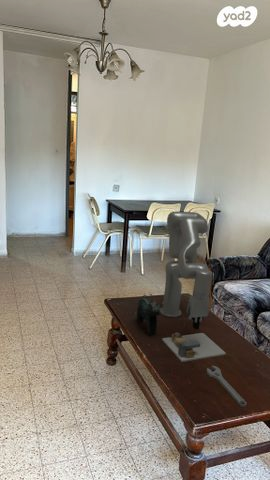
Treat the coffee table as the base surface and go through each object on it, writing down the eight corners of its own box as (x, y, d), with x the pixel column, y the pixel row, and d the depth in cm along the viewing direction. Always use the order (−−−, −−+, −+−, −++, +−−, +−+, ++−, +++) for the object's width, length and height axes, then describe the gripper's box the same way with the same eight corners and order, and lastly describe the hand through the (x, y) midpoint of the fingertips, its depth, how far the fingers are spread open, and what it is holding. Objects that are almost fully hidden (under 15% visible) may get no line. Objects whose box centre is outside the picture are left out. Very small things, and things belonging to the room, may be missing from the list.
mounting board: (162, 339, 181) (163, 328, 179) (202, 334, 190) (204, 323, 189) (181, 362, 163) (183, 349, 162) (225, 354, 172) (227, 342, 171)
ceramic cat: (158, 336, 184) (162, 300, 179) (147, 337, 182) (151, 301, 177) (143, 318, 202) (147, 285, 197) (133, 319, 200) (136, 286, 195)
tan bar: (170, 338, 181) (171, 332, 180) (178, 337, 182) (179, 331, 181) (186, 357, 165) (186, 350, 164) (194, 356, 166) (195, 349, 166)
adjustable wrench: (247, 407, 138) (248, 403, 137) (232, 409, 136) (233, 405, 136) (216, 368, 161) (217, 365, 161) (203, 370, 159) (204, 366, 159)
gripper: (209, 289, 178) (204, 322, 184) (183, 292, 173) (178, 326, 178) (218, 296, 172) (212, 330, 177) (191, 299, 166) (185, 334, 171)
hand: (195, 328), depth 177 cm, fingers closed
